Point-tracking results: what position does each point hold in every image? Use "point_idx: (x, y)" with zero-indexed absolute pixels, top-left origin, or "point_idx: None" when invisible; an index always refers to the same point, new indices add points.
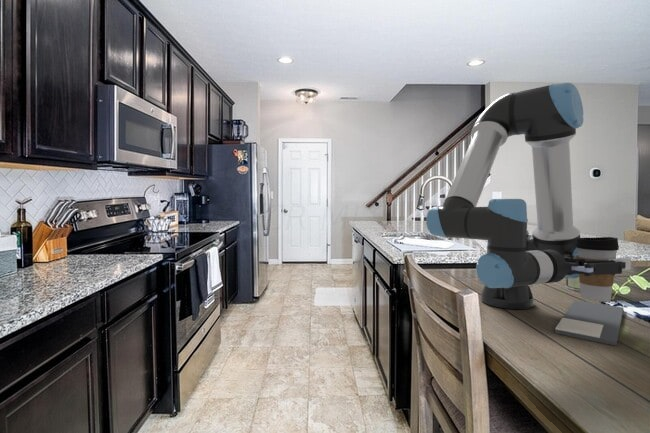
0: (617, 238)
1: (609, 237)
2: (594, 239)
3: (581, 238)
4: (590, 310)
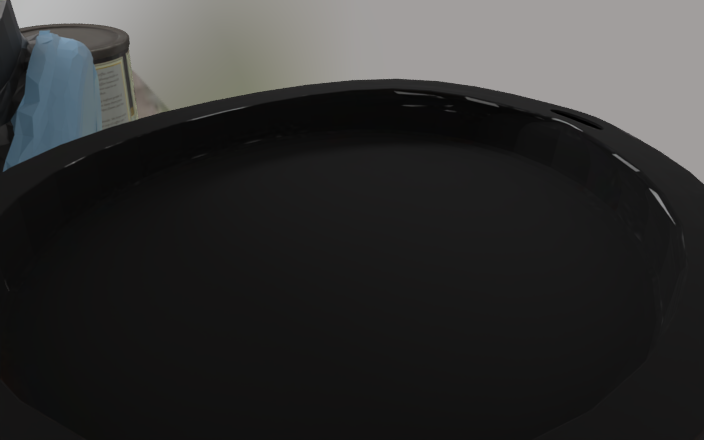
0: (629, 135)
1: (438, 95)
2: (224, 140)
3: (6, 216)
4: None
